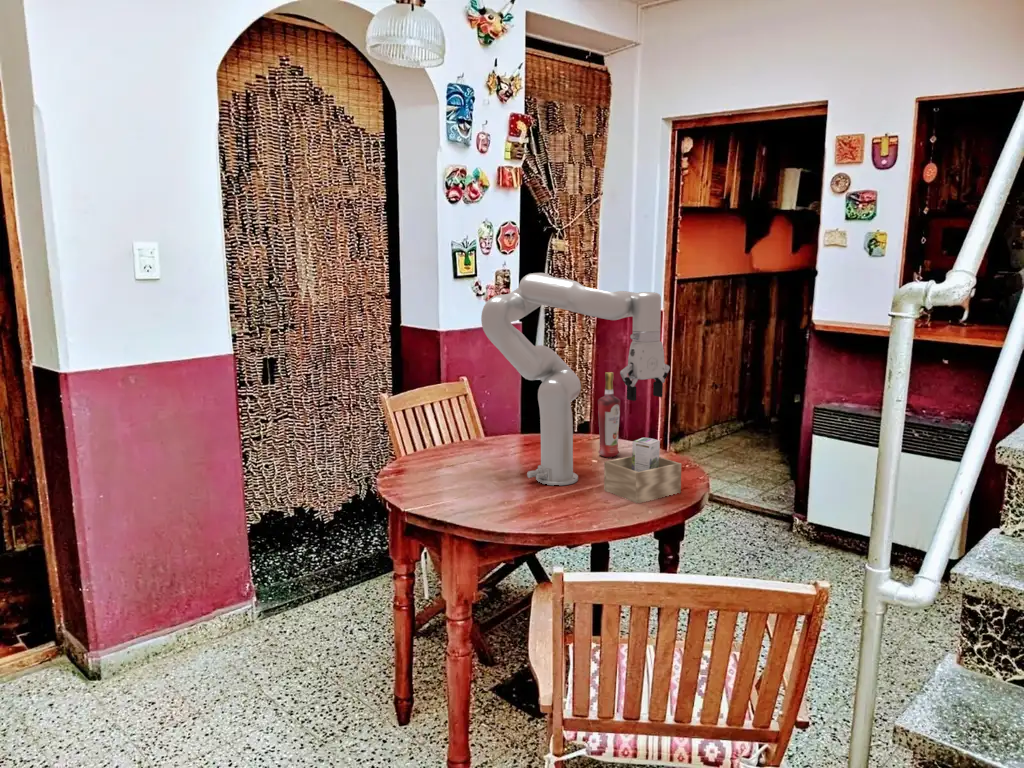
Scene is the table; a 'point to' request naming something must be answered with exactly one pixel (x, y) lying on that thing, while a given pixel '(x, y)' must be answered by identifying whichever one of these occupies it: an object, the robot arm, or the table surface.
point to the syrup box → (645, 454)
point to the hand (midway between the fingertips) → (644, 398)
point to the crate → (642, 480)
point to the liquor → (608, 419)
